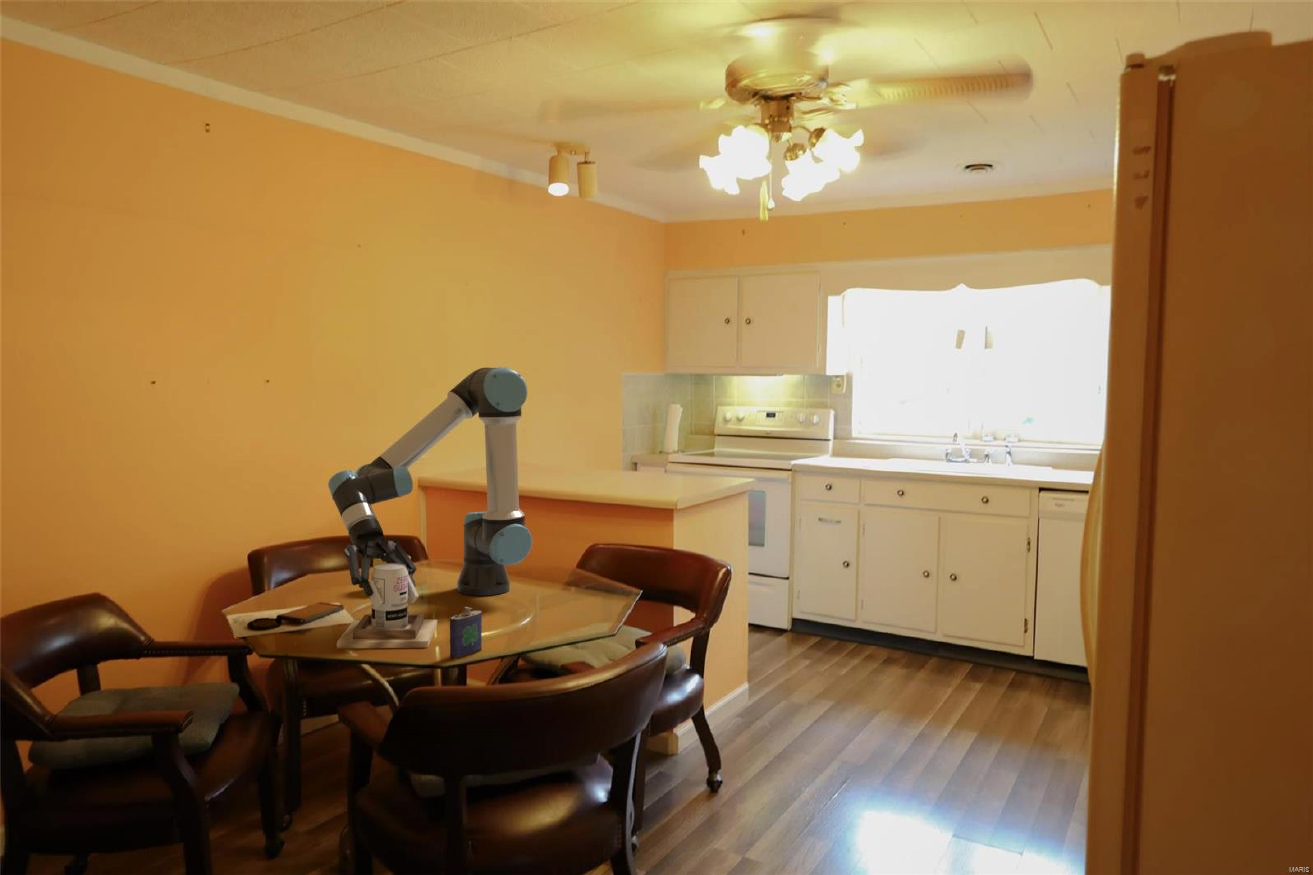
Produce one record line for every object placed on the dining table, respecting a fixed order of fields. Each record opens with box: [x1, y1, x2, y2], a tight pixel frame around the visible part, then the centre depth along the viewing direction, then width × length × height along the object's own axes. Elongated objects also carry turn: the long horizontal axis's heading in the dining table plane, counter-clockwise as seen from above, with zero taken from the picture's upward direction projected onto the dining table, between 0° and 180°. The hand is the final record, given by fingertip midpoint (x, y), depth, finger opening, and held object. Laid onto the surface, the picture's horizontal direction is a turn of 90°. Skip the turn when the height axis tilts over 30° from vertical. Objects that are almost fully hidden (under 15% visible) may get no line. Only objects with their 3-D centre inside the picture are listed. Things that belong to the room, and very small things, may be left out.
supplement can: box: [371, 563, 409, 629], centre depth 206 cm, size 8×8×15 cm
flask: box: [449, 606, 483, 660], centre depth 195 cm, size 9×3×11 cm, turn 148°
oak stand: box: [336, 613, 438, 650], centre depth 206 cm, size 20×18×4 cm
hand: (397, 602), depth 204 cm, fingers open, 9 cm apart
